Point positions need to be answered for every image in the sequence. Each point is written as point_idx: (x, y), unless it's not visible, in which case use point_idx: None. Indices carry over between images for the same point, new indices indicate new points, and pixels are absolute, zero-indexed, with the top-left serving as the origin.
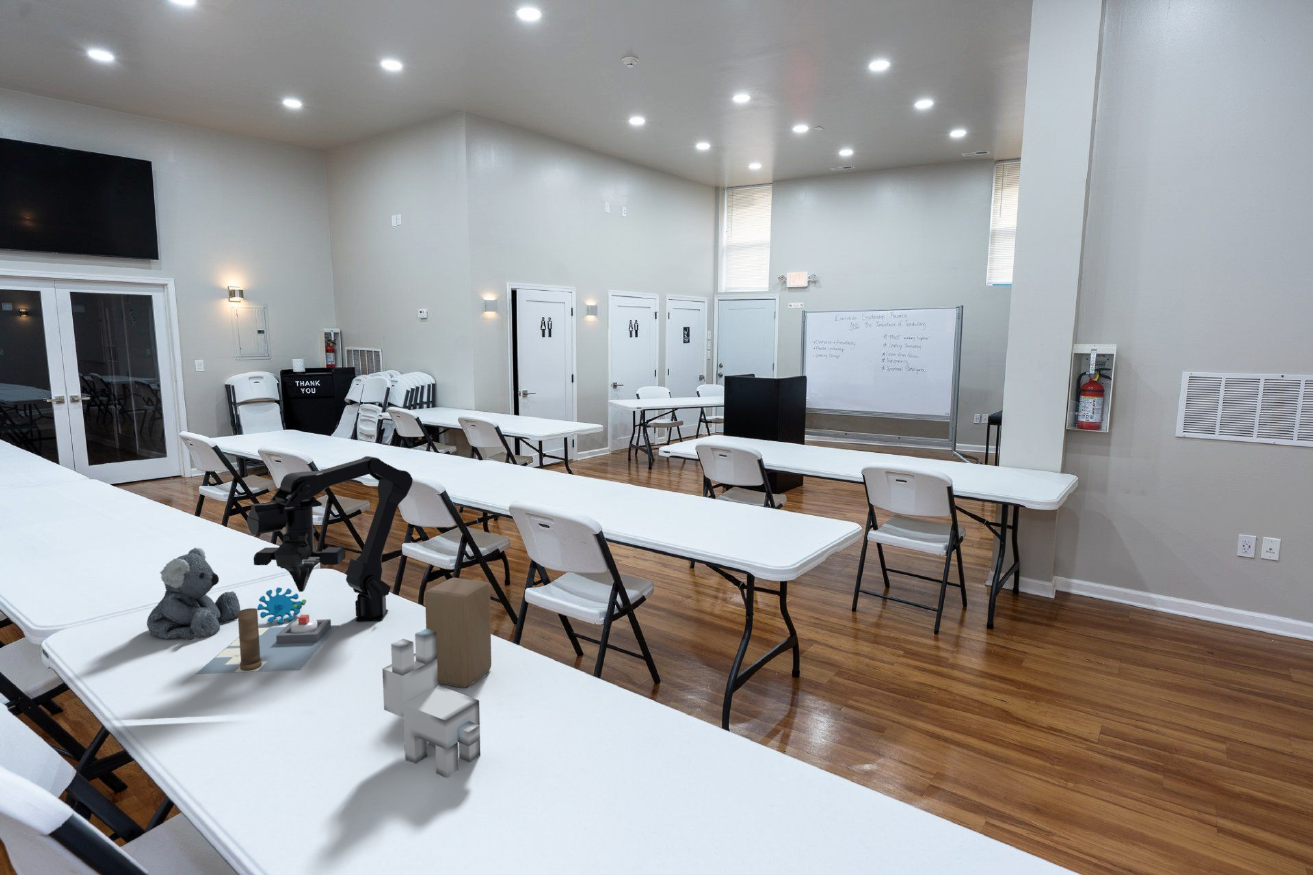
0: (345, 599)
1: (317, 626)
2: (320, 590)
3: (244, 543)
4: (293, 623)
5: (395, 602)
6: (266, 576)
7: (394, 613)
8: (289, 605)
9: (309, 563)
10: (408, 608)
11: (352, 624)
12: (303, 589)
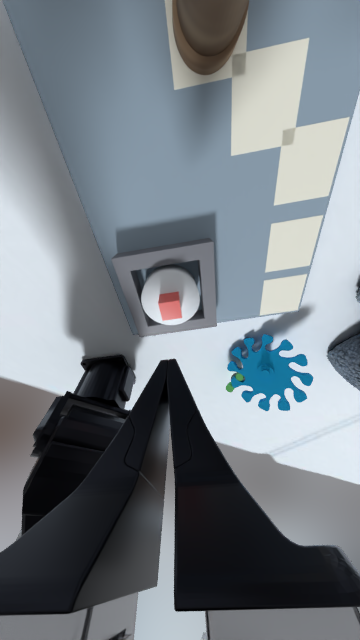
0: None
1: None
2: (235, 421)
3: (349, 476)
4: (196, 298)
5: None
6: (313, 439)
7: None
8: (248, 374)
9: (7, 633)
10: None
11: (121, 345)
12: (158, 369)
